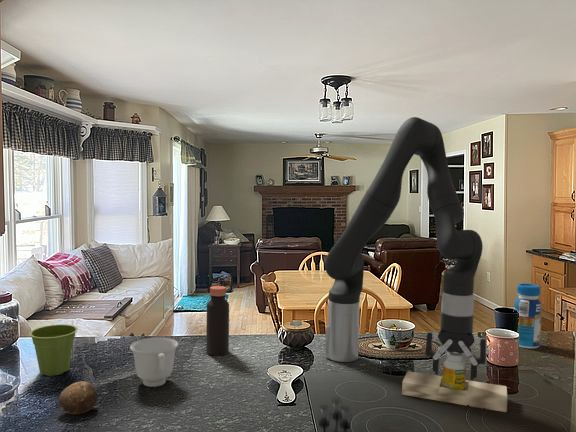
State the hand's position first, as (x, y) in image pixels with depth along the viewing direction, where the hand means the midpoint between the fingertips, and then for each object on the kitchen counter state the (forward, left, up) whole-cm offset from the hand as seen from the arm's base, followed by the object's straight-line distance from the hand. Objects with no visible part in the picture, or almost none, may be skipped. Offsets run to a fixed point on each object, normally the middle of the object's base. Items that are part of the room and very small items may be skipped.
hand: (454, 376), depth 126 cm
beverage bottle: (+19, +53, -5) cm, 57 cm away
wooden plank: (0, 0, -5) cm, 5 cm away
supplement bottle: (0, 0, -4) cm, 4 cm away
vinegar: (-69, +4, -5) cm, 69 cm away
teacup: (-71, -24, -5) cm, 75 cm away
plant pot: (-101, -28, -5) cm, 105 cm away
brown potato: (-78, -43, -6) cm, 89 cm away
